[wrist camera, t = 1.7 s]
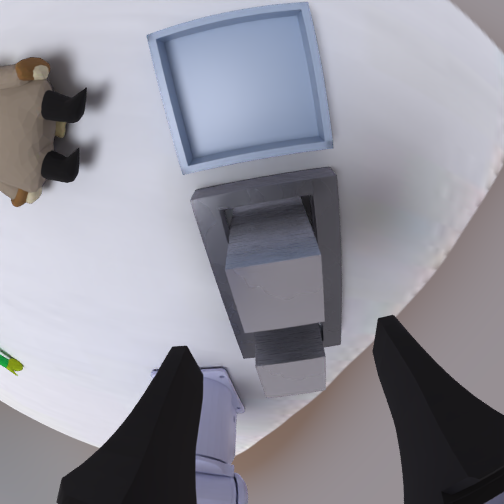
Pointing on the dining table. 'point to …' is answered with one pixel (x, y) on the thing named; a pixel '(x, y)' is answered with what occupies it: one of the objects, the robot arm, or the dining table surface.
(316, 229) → the dark grey rectangular frame
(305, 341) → the grey rectangular block
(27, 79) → the toy
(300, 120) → the tray
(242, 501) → the robot arm
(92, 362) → the dining table surface
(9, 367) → the toy
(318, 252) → the light grey block
